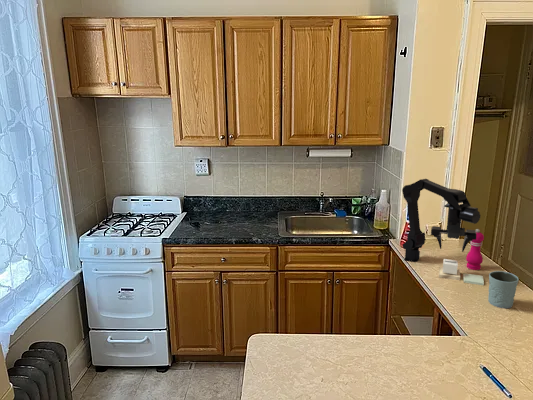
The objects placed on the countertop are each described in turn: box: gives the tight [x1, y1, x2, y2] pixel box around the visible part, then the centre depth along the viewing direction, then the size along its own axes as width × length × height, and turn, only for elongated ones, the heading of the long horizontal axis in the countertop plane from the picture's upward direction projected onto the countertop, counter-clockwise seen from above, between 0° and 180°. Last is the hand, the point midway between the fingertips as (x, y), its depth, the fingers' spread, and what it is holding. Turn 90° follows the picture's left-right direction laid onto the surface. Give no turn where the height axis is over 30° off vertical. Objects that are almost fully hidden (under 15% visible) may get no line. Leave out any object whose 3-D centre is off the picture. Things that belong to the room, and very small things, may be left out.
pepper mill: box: [465, 228, 485, 271], centre depth 190 cm, size 7×7×20 cm
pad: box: [462, 273, 485, 286], centre depth 179 cm, size 8×8×1 cm
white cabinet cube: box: [442, 258, 458, 275], centre depth 184 cm, size 6×6×5 cm
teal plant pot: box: [487, 270, 520, 309], centre depth 157 cm, size 10×10×12 cm
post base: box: [438, 266, 461, 281], centre depth 184 cm, size 9×9×6 cm
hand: (451, 250), depth 182 cm, fingers open, 9 cm apart
